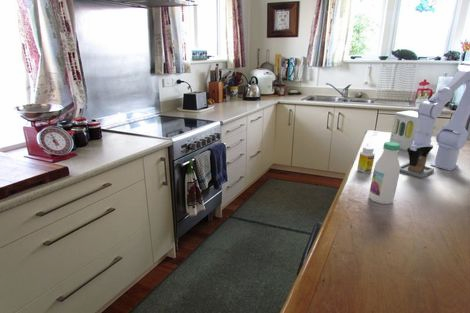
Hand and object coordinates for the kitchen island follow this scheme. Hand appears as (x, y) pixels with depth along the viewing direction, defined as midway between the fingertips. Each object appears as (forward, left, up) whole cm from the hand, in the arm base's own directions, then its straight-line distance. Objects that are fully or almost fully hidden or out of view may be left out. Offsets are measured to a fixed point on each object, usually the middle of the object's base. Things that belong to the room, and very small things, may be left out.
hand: (416, 163), depth 131 cm
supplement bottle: (+17, -13, -4) cm, 22 cm away
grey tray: (0, 0, -3) cm, 3 cm away
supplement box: (-32, -17, -4) cm, 36 cm away
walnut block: (0, 0, -3) cm, 3 cm away
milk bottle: (+36, +4, -4) cm, 36 cm away
